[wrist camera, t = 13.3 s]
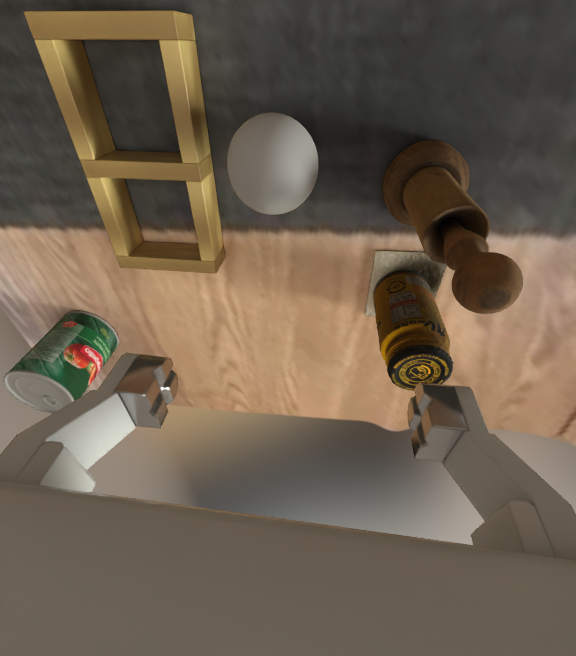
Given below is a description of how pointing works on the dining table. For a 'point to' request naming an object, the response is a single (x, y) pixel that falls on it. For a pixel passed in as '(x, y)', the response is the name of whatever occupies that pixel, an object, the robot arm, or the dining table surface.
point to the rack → (113, 166)
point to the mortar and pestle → (450, 224)
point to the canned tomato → (62, 362)
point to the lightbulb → (272, 163)
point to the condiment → (409, 318)
